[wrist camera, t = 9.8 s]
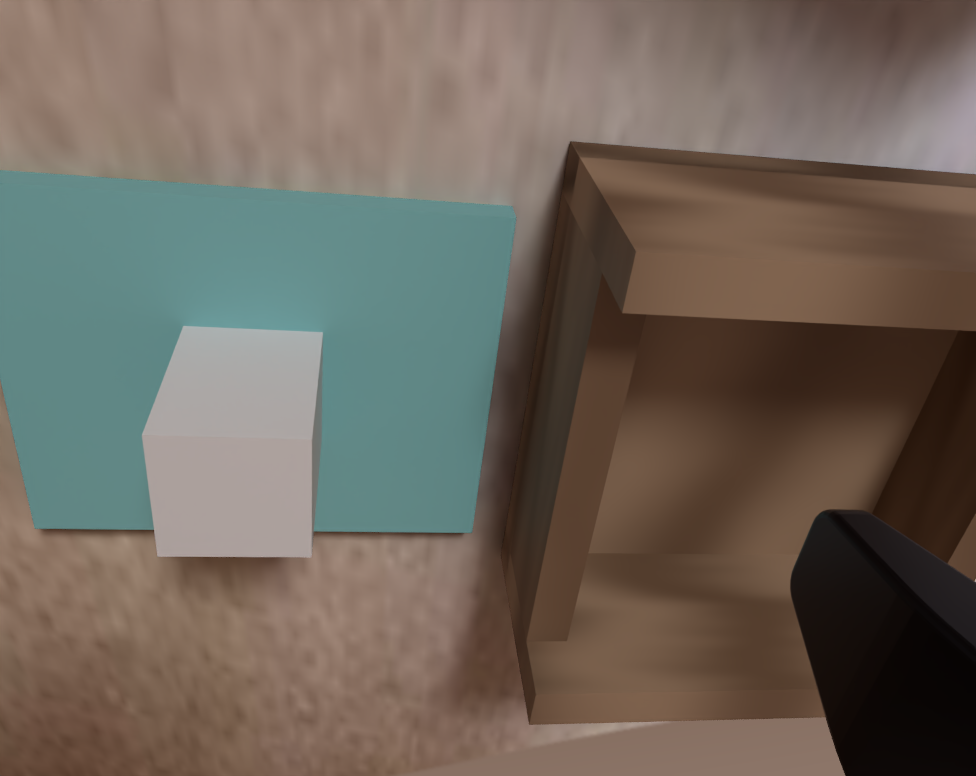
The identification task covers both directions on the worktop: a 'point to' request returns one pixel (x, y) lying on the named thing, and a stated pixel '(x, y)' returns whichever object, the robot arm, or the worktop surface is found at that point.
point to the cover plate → (242, 274)
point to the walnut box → (730, 419)
